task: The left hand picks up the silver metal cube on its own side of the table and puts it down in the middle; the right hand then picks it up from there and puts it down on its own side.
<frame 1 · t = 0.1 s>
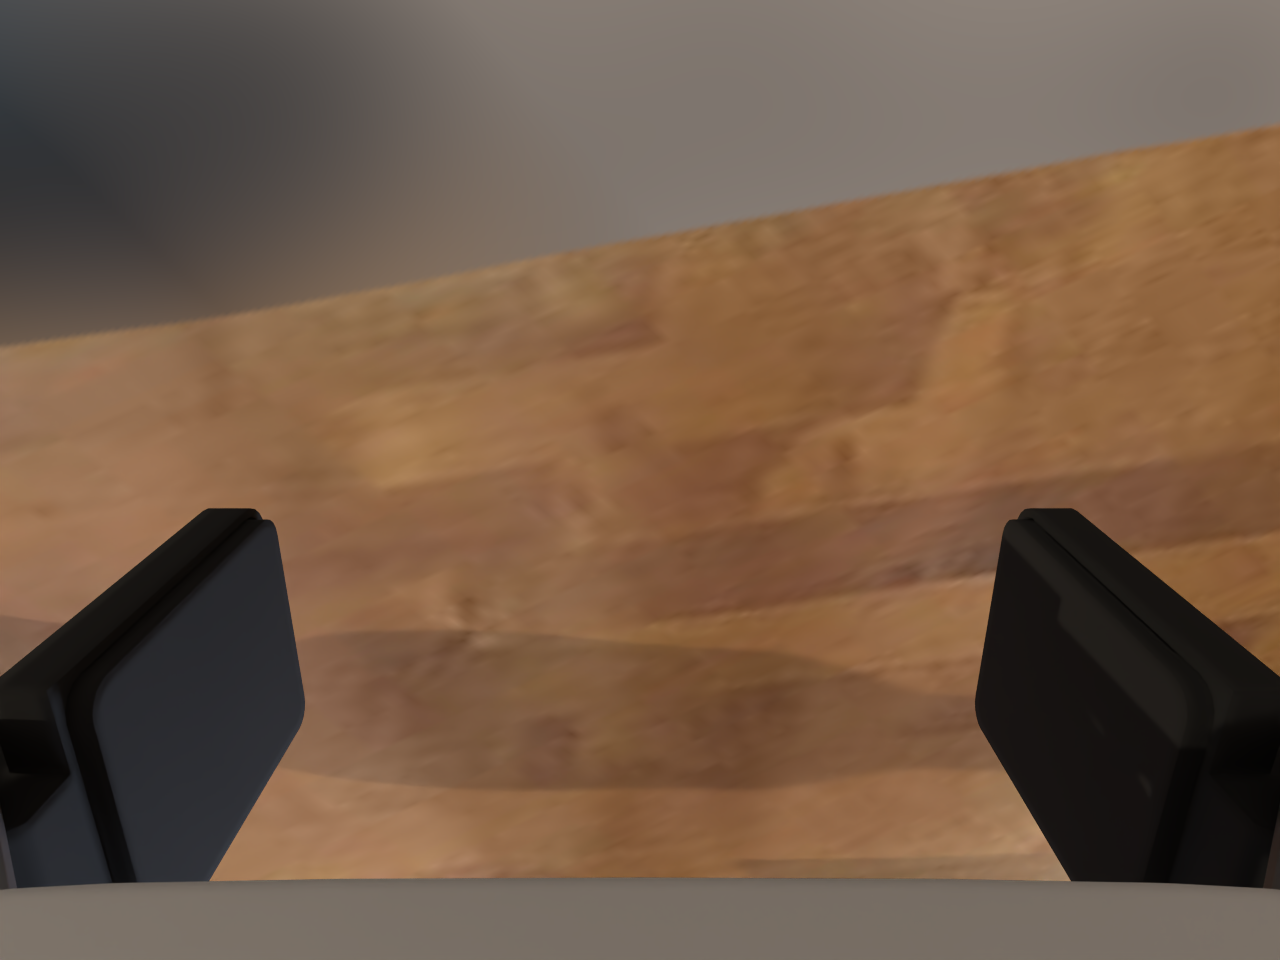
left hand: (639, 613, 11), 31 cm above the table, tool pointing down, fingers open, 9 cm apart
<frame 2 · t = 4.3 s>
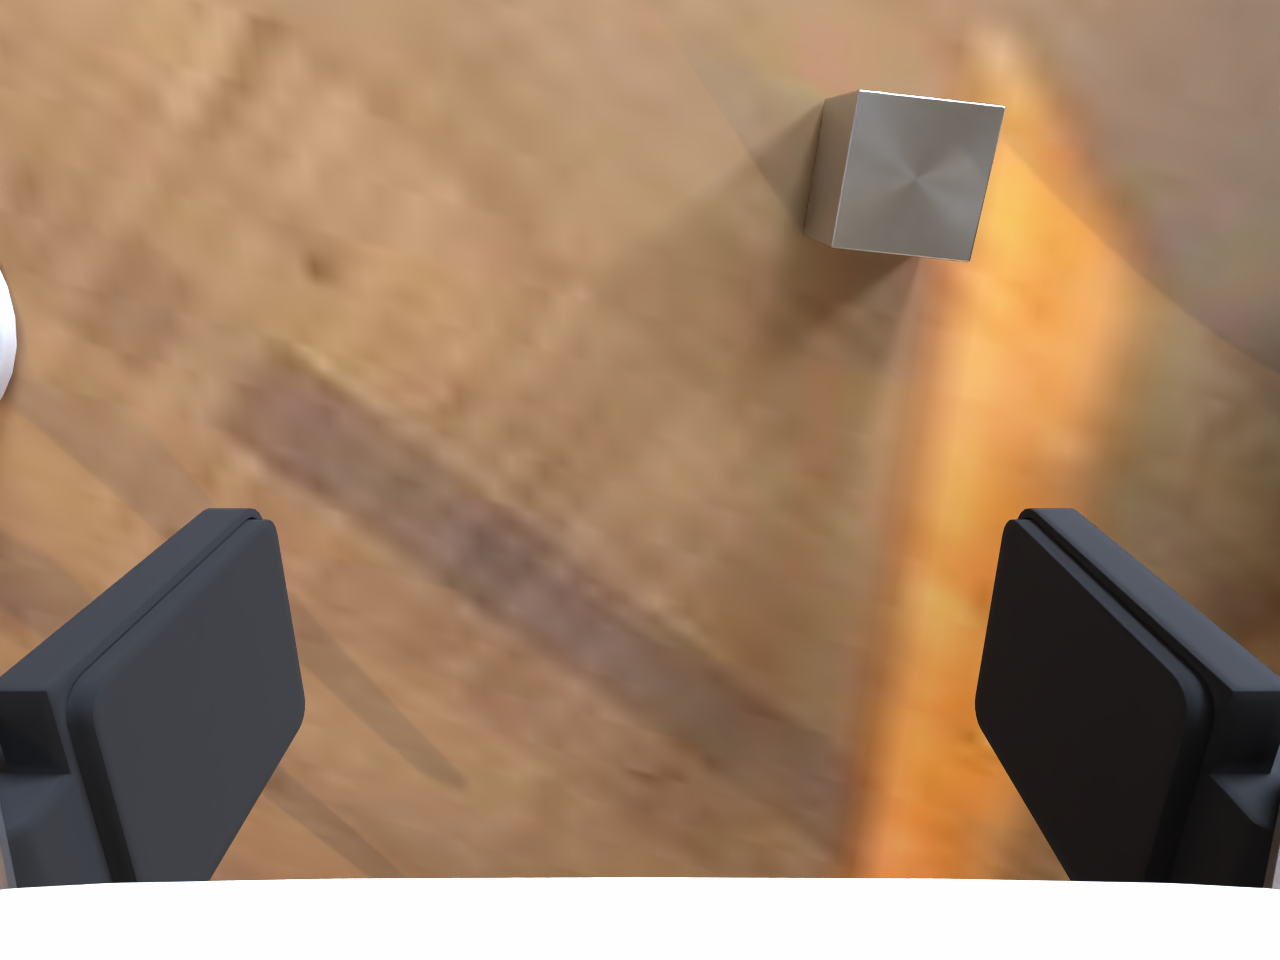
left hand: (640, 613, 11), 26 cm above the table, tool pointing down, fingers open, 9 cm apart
silver metal cube: (875, 175, 33), on the table
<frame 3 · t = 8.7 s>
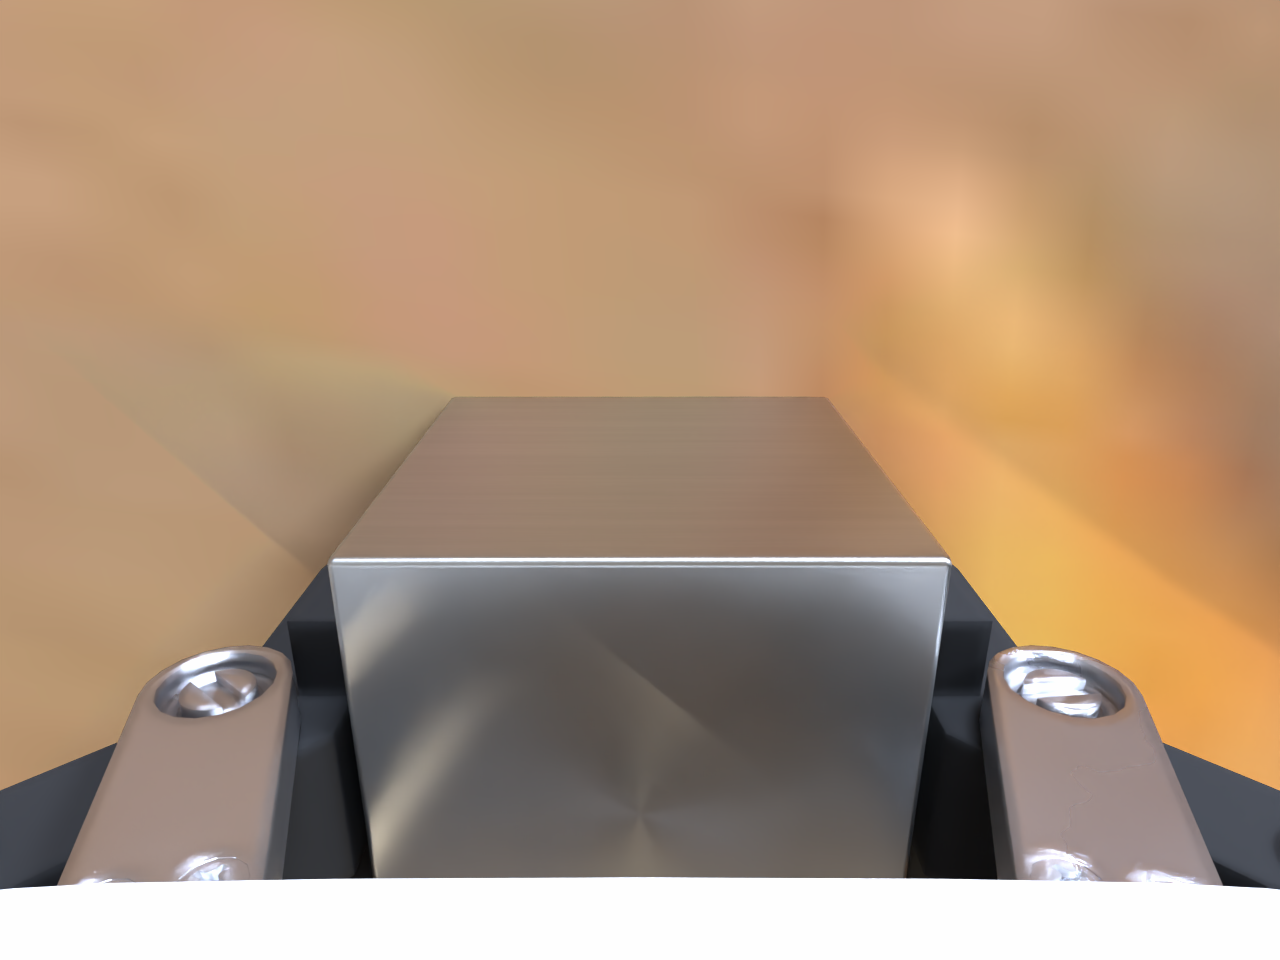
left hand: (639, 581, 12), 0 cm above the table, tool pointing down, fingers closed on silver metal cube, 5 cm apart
silver metal cube: (639, 567, 12), on the table, touching left hand
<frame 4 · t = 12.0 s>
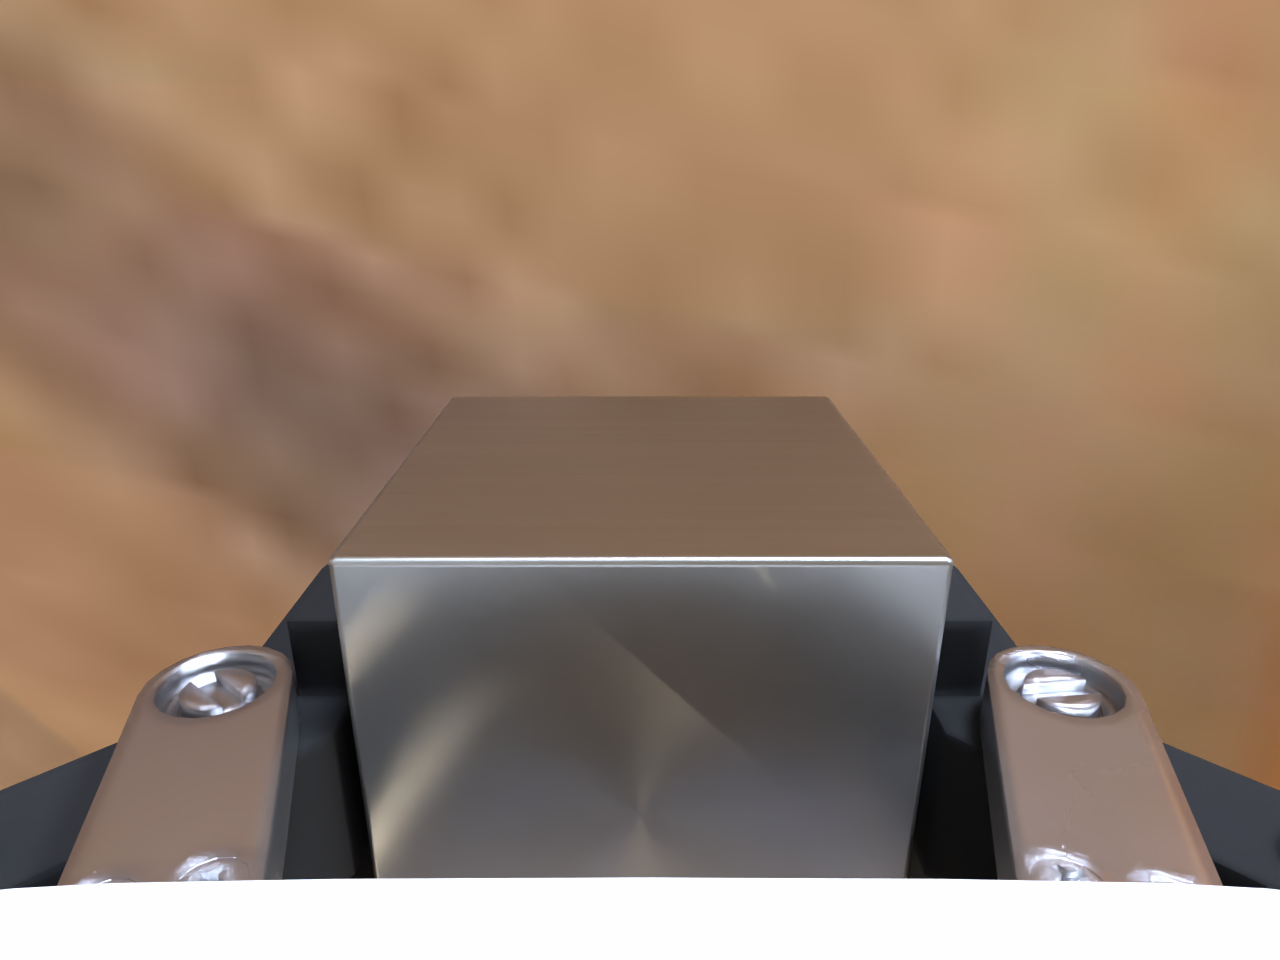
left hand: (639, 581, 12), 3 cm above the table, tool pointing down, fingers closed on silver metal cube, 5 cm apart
silver metal cube: (640, 567, 12), point 3 cm above the table, touching left hand
when the left hand's fingers open (1 cm above the table, at t = 15.6 s): silver metal cube stays where it is, on the table.
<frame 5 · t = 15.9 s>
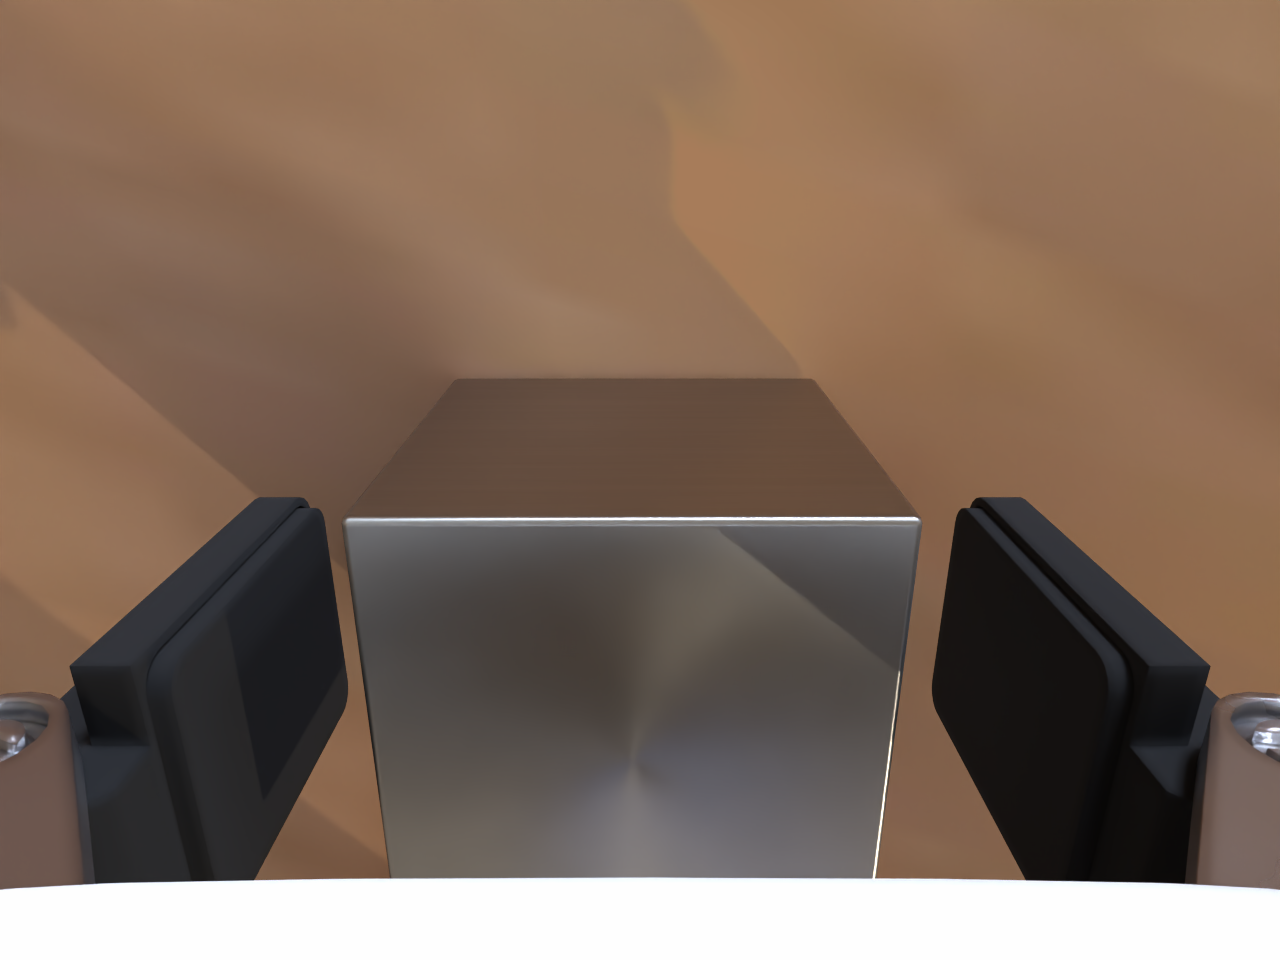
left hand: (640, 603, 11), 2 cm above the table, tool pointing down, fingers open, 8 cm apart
silver metal cube: (635, 543, 13), on the table
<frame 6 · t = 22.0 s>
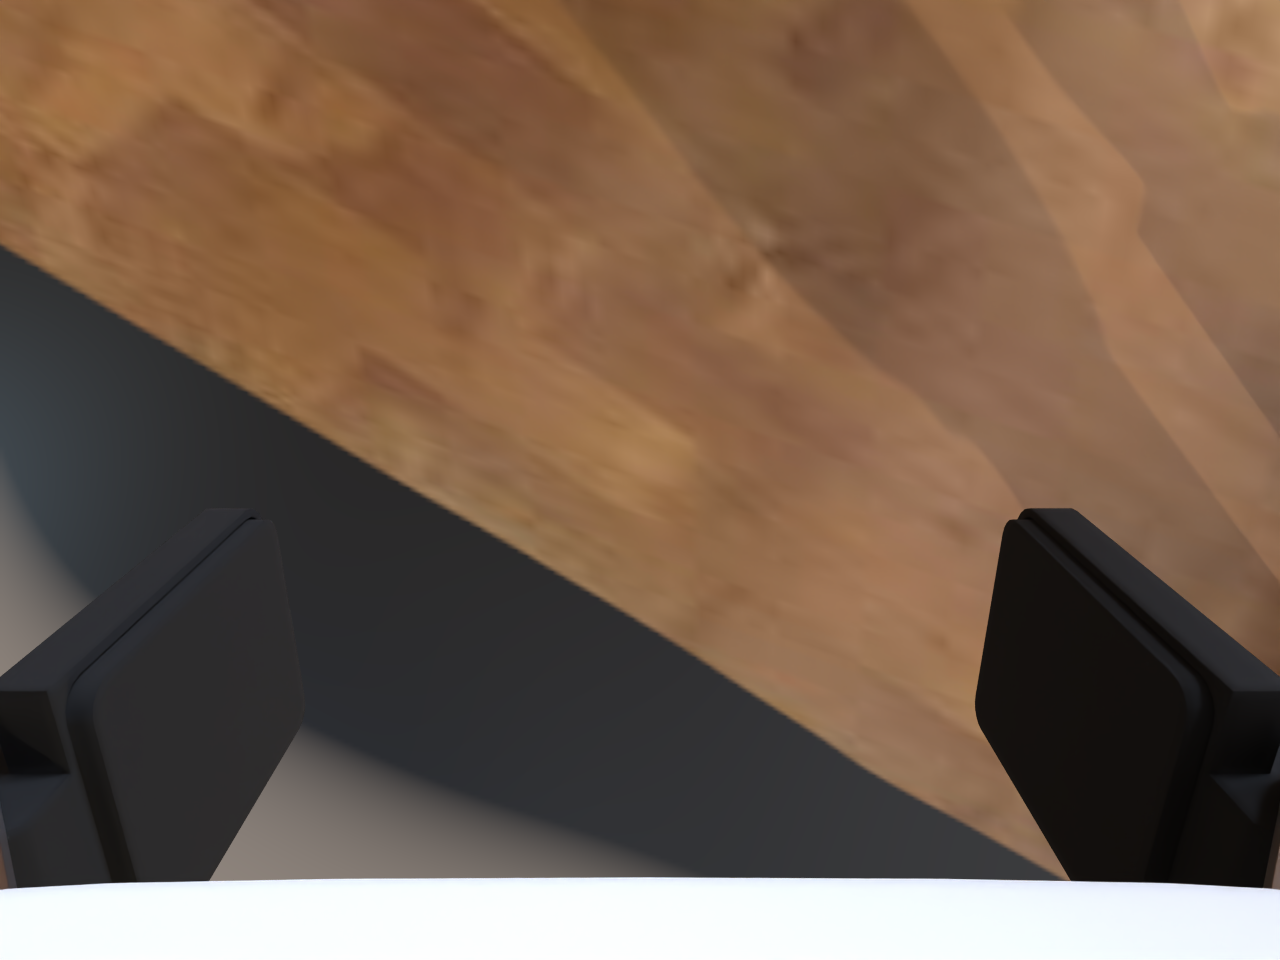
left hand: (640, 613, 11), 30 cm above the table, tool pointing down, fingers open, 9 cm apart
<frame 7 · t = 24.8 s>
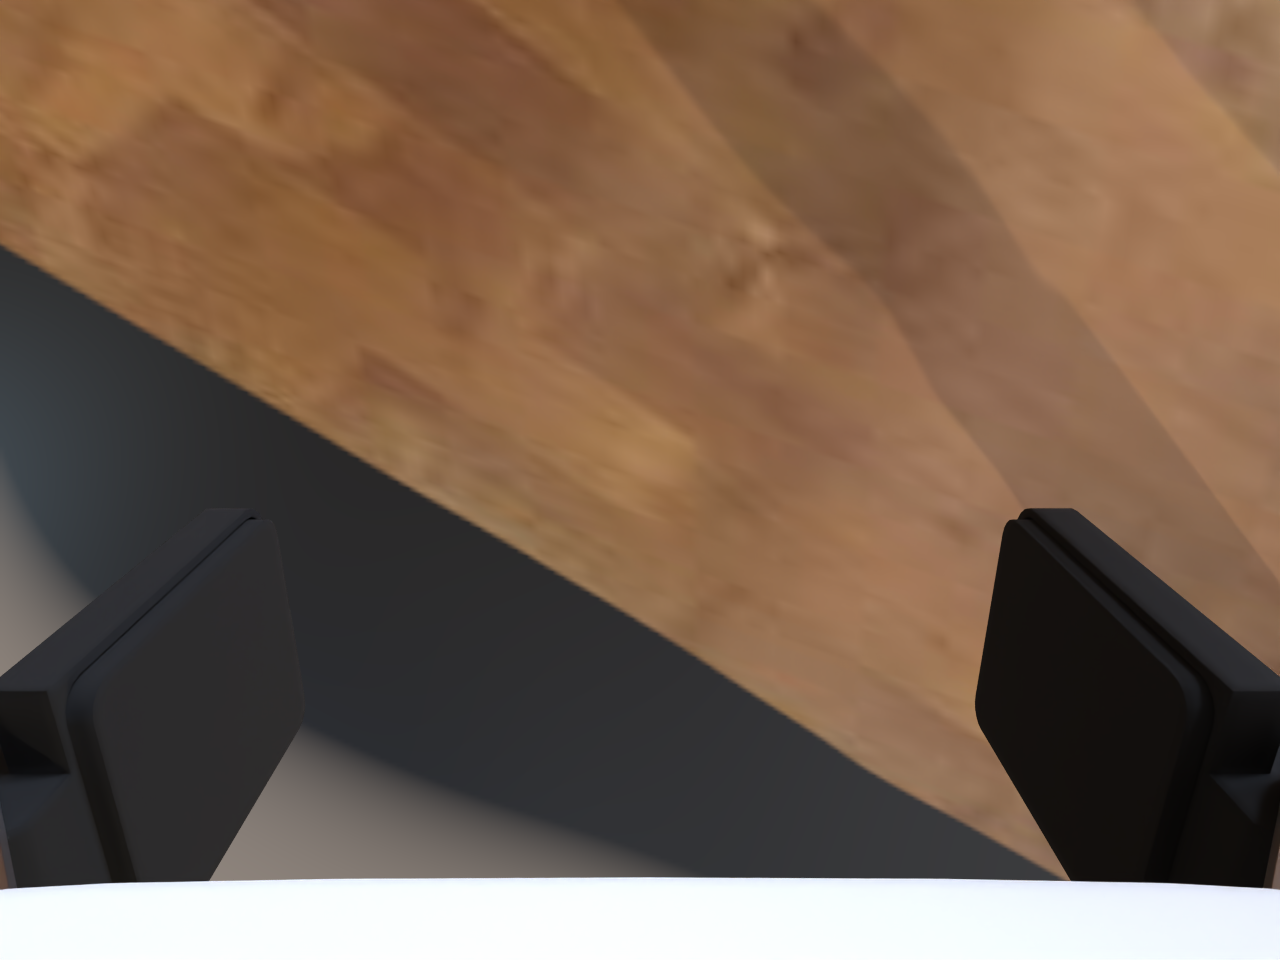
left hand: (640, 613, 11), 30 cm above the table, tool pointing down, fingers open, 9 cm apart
when the right hand's fingers open (9 cm above the table, at t = 28.2 s): silver metal cube drops 5 cm, on the table.
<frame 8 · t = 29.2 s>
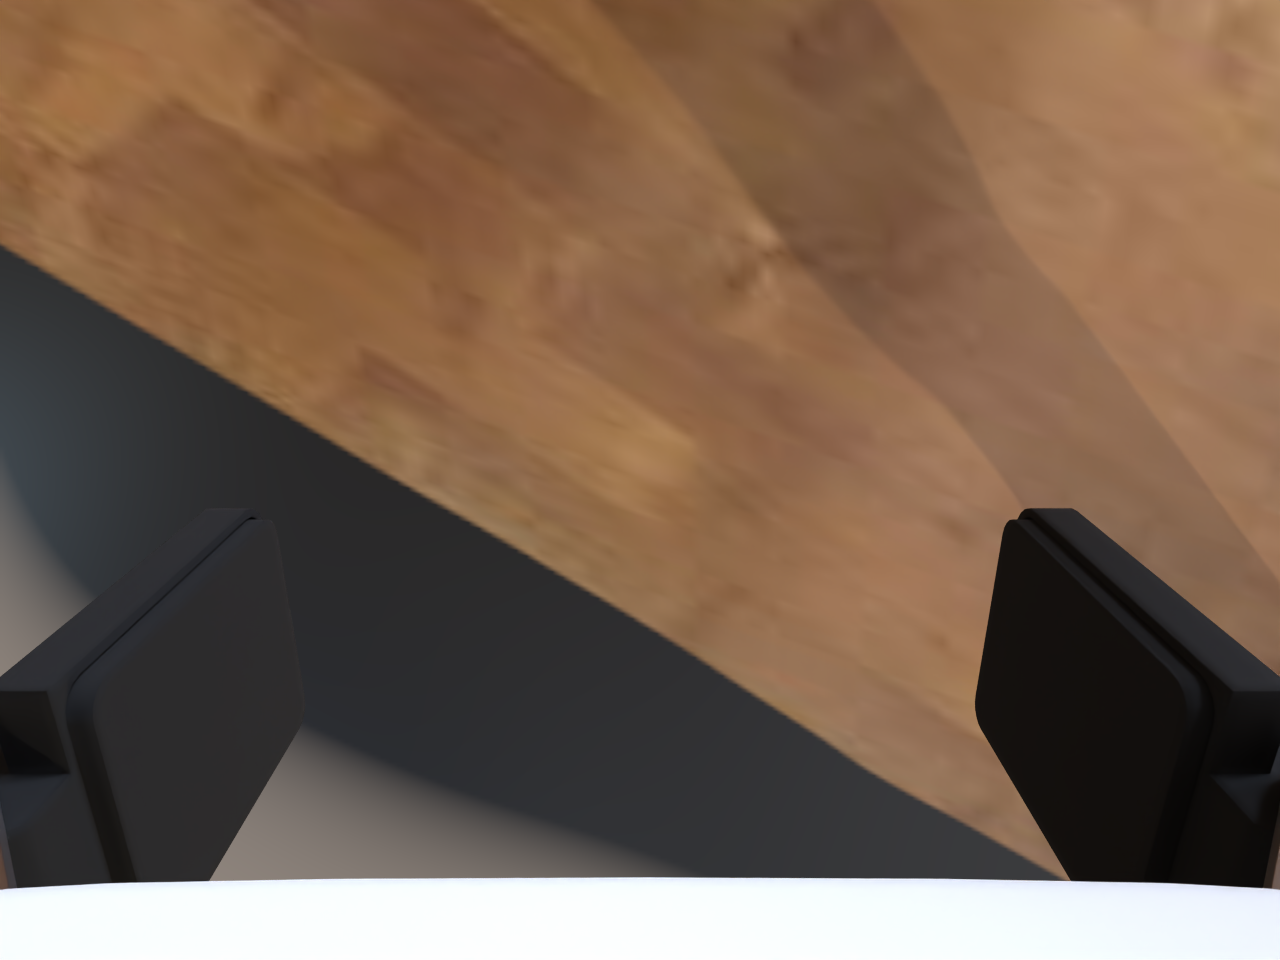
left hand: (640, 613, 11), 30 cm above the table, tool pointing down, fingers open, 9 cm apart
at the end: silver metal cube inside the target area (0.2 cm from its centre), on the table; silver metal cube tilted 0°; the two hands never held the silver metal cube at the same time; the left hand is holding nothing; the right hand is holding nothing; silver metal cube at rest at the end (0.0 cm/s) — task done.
